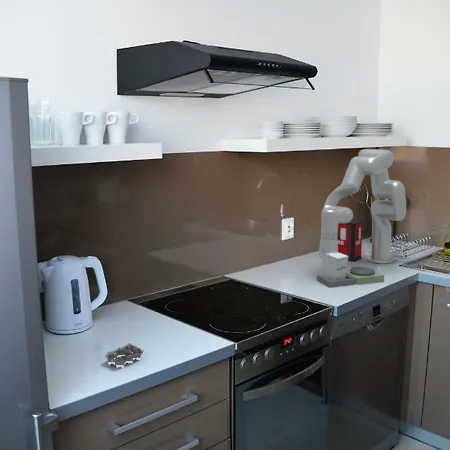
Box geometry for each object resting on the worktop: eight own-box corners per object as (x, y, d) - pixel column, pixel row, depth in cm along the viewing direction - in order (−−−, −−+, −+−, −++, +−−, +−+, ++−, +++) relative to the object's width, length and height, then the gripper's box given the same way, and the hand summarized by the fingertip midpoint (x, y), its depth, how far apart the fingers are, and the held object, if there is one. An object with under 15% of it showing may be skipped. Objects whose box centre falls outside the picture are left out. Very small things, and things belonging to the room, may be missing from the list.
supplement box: (334, 285, 245) (337, 258, 241) (322, 279, 251) (325, 253, 247) (345, 282, 249) (348, 256, 246) (333, 277, 255) (336, 251, 251)
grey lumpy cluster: (118, 371, 164) (117, 358, 163) (103, 364, 169) (102, 351, 168) (146, 359, 172) (145, 346, 171) (130, 352, 177) (130, 340, 176)
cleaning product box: (361, 258, 292) (362, 221, 288) (354, 262, 285) (355, 223, 281) (332, 254, 301) (333, 218, 298) (324, 257, 294) (325, 220, 291)
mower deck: (367, 273, 263) (367, 265, 262) (384, 281, 250) (384, 272, 249) (315, 279, 255) (315, 270, 254) (330, 287, 242) (330, 278, 241)
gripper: (314, 233, 259) (313, 271, 262) (330, 239, 245) (329, 279, 248) (328, 232, 261) (327, 270, 264) (345, 238, 247) (343, 278, 250)
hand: (328, 274), depth 256 cm, fingers closed
